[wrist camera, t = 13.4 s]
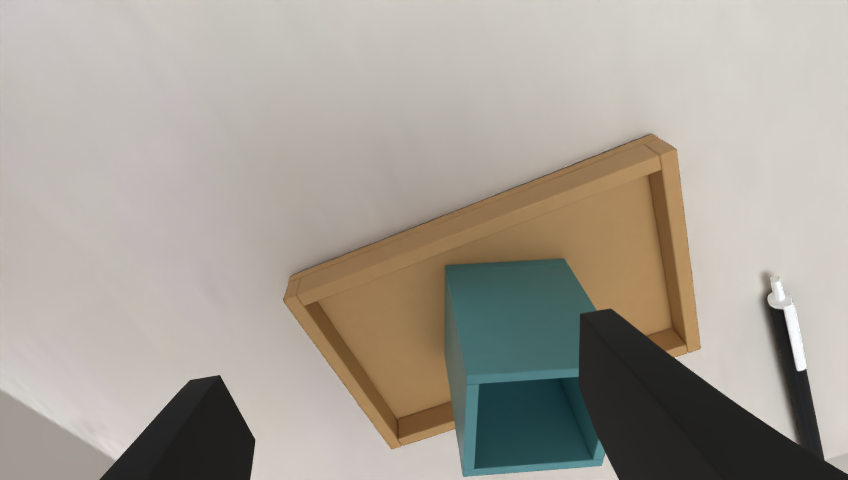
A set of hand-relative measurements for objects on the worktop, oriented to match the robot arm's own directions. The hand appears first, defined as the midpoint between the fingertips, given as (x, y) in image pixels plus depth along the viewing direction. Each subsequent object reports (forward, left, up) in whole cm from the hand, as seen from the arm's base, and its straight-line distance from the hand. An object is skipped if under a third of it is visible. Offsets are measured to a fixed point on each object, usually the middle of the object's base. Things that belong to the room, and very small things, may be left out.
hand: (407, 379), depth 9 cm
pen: (+15, -20, -10) cm, 27 cm away
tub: (+2, -7, -9) cm, 12 cm away
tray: (+2, -7, -10) cm, 12 cm away
